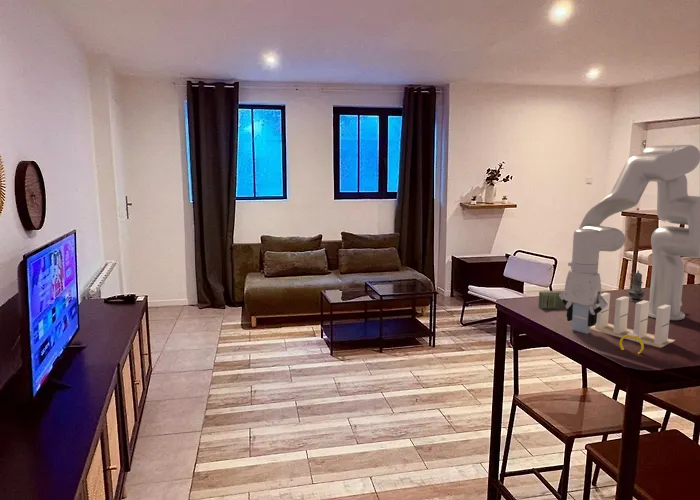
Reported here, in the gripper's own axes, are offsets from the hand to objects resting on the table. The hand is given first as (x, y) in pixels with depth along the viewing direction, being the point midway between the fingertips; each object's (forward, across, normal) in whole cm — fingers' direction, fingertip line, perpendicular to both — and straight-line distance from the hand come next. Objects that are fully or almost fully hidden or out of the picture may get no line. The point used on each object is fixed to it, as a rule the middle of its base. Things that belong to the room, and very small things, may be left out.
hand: (581, 322), depth 160 cm
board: (+4, +8, +9) cm, 13 cm away
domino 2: (+3, +2, +9) cm, 10 cm away
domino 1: (+4, 0, 0) cm, 4 cm away
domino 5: (+3, +20, +9) cm, 22 cm away
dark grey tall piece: (+4, -7, +52) cm, 53 cm away
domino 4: (+3, +14, +9) cm, 17 cm away
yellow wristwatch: (+4, +18, -5) cm, 19 cm away
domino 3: (+3, +8, +9) cm, 12 cm away
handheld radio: (+4, -17, +25) cm, 30 cm away
